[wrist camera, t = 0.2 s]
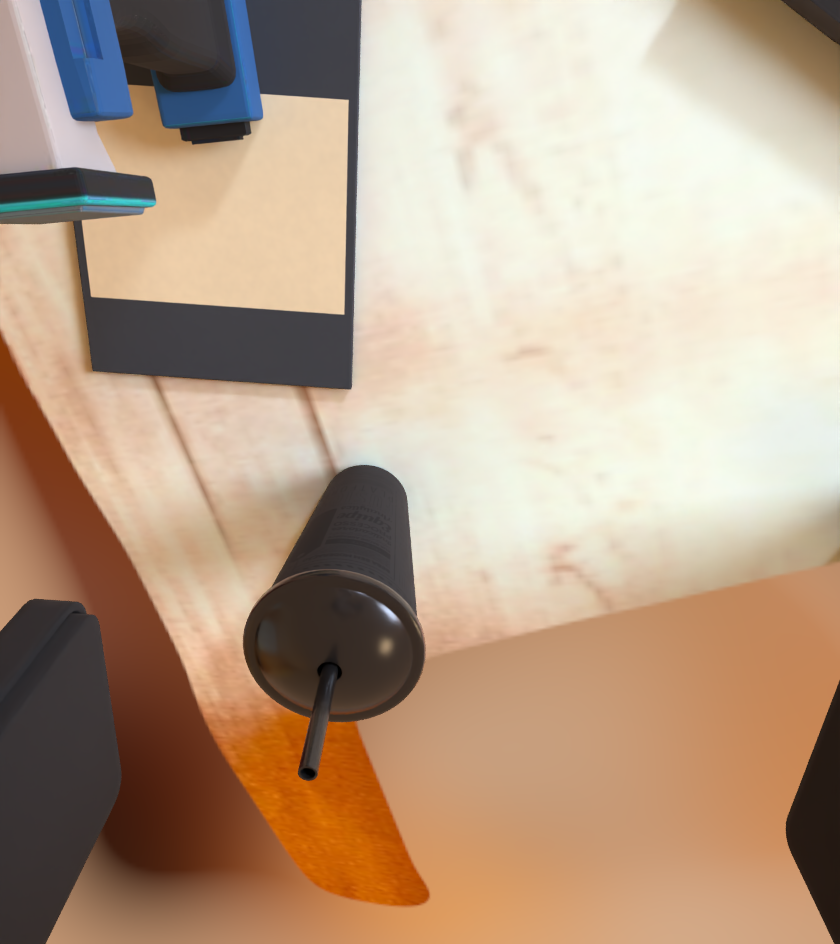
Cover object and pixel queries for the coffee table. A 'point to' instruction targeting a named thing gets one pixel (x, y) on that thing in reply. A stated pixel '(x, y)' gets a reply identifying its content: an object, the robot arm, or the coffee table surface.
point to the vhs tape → (820, 15)
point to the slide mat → (239, 221)
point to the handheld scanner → (111, 95)
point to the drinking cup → (341, 612)
